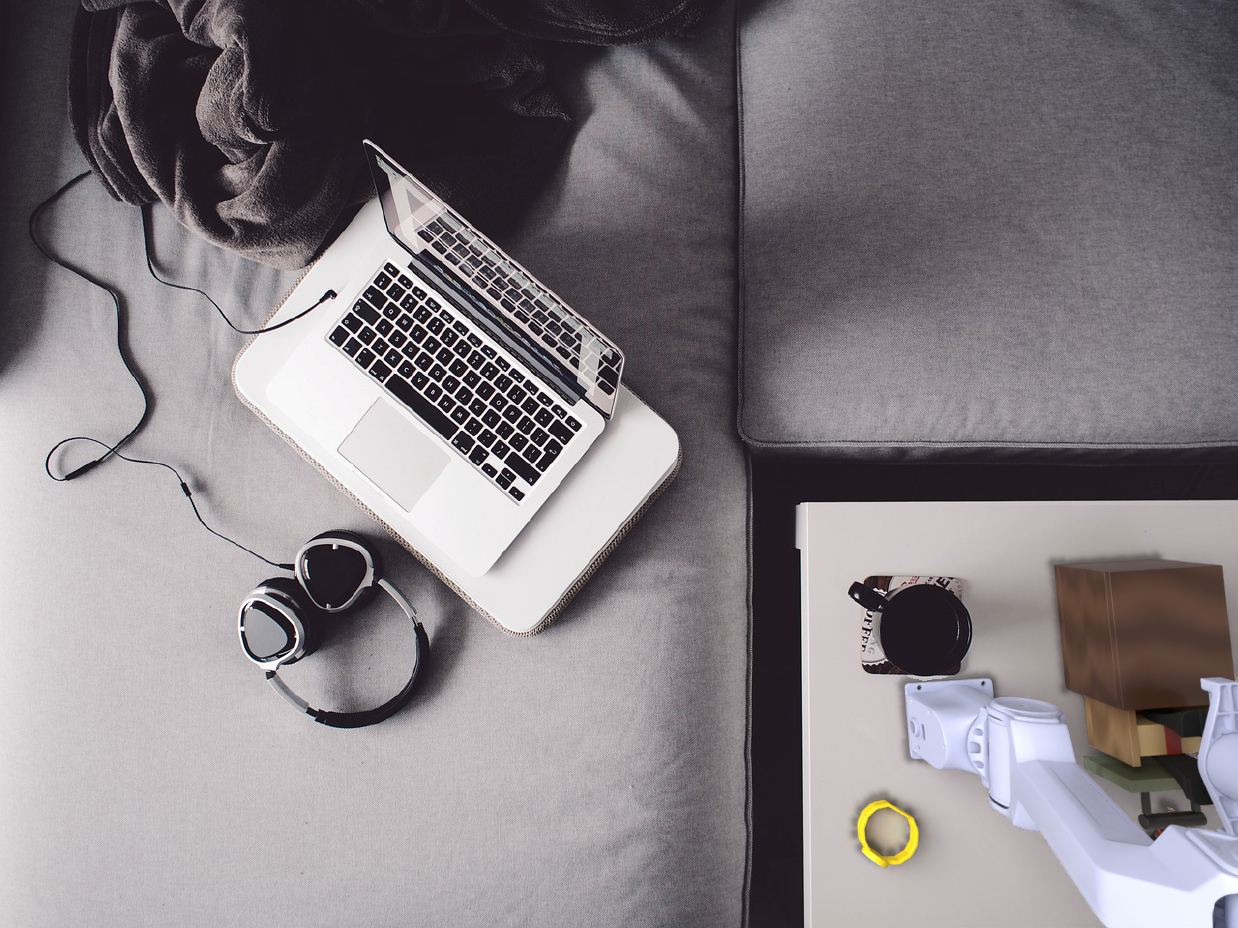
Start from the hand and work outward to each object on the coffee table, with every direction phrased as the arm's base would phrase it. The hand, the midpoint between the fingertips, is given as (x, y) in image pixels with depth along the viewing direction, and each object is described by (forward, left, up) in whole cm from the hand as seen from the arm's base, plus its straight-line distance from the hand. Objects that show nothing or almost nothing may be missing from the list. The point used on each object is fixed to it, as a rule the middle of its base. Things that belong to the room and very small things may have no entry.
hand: (1155, 731), depth 70 cm
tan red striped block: (0, 0, -1) cm, 1 cm away
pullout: (0, -1, -4) cm, 4 cm away
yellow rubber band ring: (-25, -8, -4) cm, 26 cm away
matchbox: (+4, -13, -5) cm, 14 cm away
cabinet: (0, +10, -5) cm, 11 cm away
